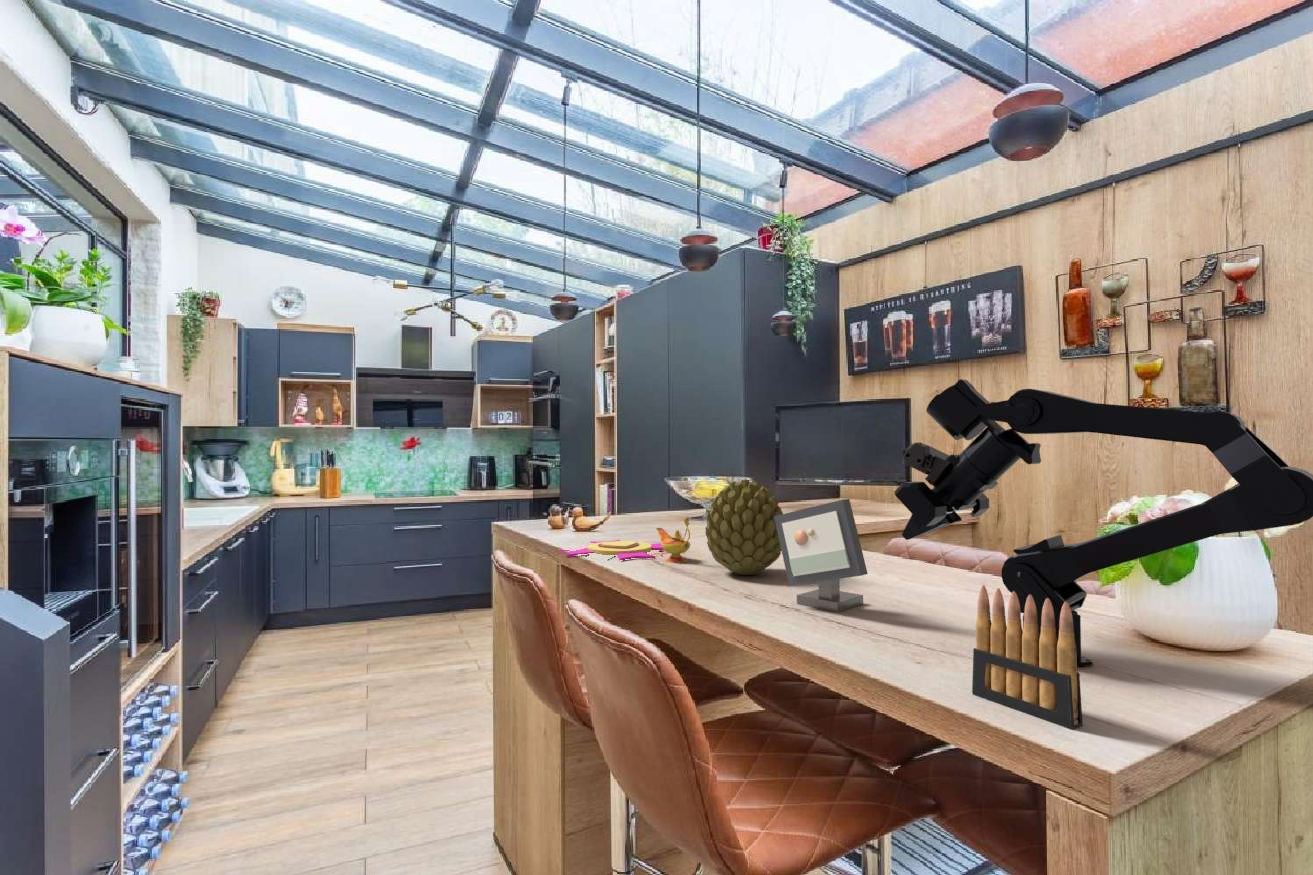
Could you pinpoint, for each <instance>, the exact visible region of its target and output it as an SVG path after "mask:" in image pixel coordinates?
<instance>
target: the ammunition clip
mask: <svg viewBox="0 0 1313 875" xmlns="http://www.w3.org/2000/svg"><path fill="white" fill-rule="evenodd" d="M977 598H978V599H977V615H976V623H975V648H973V649H972V650H973V651H972V653H973V654H972V655H973V658H972V663H973V664H972V680H971V681H972V682H971V683H972V684H971V685H972V688H971V689H972V690H971V693H972V695H973V696H976V697H978V698H980V699H983V700H987V701H989V702H993V703H996V704H999V705H1001V706H1003V707H1006V708H1009V709H1012V710H1015V711H1017V712H1021V713H1023V714H1025V715H1029V716H1032V717H1034V718H1037V719H1040V720H1043V721H1046V722H1048V723H1051V724H1054V725H1057V726H1059V727H1062V728H1066V729H1068V730H1075V729H1077V728H1080V727H1082V726H1084V725H1083V711H1082V710H1083V709H1082V707H1083V706H1082V695H1081V680H1080V679H1081V678H1080V677H1081V676H1080V675H1081V674H1080V672H1078V670H1077V669H1078V666H1077V654H1076V644H1075V640H1074V629H1073V618H1072V613H1071V609H1070V606H1069V604H1068V602H1064V604H1063V606H1062V609H1061V613H1060V622H1059V639H1058V642H1057V638H1056V630H1055V617H1054V611H1053V607H1052V604H1051V601H1050V599H1049V598H1046V600H1045V602H1044V605H1043V609H1042V617H1041V634H1040V637H1039V632H1038V623H1037V611H1036V606H1035V602H1034V599H1033V597H1032V595H1029V596H1028V598H1027V600H1026V604H1025V611H1024V613H1023V615H1024V629H1023V624H1022V618H1021V616H1022V613H1021V611H1020V604H1019V600H1018V597H1017V594H1016V592H1015V591H1013V592H1012V593H1011V595H1010V597H1009V601H1008V606H1007V607H1008V608H1007V620H1006V608H1005V607H1006V606H1005V601H1004V597H1003V593H1002V591H1001V589H1000V587H998V588H996V590H995V593H994V595H993V601H992V614H991V609H990V608H991V607H990V606H991V604H990V597H989V594H988V590H987V588H986V586H985V584H984V585H982V586H981V587H980V591H979V593H978V597H977ZM1006 621H1007V622H1006Z"/></svg>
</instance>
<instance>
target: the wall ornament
mask: <svg viewBox="0 0 1313 875" xmlns="http://www.w3.org/2000/svg"><path fill="white" fill-rule="evenodd" d="M589 542H591V543H594V544H591V545H590V544H588V545H587V546H588V548H584V549H581V550H576V551H570V550H563V549H564V548H560V549H558V550H559V551H558V552H559V553H561V554H563V553H562V551H570V552H569V553H568V554H566V558H575V557H574V556H575V555H578V554H588V553H596V554H602V555H617V556H618V558H619V559H620V560H625V559H631V558H655V559H656V556H653V555H662V556H663V555H664V554H663V553H666V554H669V553H668V552H666V551H664V552H661V553H654V554H651V555H650V554H647V552H650V551H651V550H664V549H663V548H662V546H661V542H659V543H647V542H641V541H632V540H623V541H622V540H621V539H614V540H608V541H599V540H598V541H597V540H596V541H592V540H591V541H588V543H589ZM618 558H617V559H618ZM619 559H618V560H619Z"/></svg>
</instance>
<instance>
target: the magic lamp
mask: <svg viewBox="0 0 1313 875" xmlns="http://www.w3.org/2000/svg"><path fill="white" fill-rule="evenodd" d="M689 521H690V518H689V516H687V517H685V518H684V519H683V522H684V525H685V527H686V528H685V533H684V536H683V535H682V533H681V531H679V529H676V530H675V532H674V534H673V535H672V536H671V535H669V533H668V532H667V531H666V530H665V529H664V528H662V527H656V528H655V530H656V531H657V533H658V537H659V540H660V543H661V546H662V548H663V549H664V550H665V551H666V552H668V553H667V554H670V557H668V558H666V559H665V562H666V563H671V562H680V563H685V562H687V559H685V558H683V557H682V555H681V554H686V552H687V551H688V550H689V549H690V547H691V543H690V542H689V540H690V539H691V532H690V529H689V525H690V522H689ZM687 533H688V537H687V539H686V535H687ZM682 536H683V538H682ZM685 539H686V540H685Z"/></svg>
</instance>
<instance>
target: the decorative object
mask: <svg viewBox="0 0 1313 875" xmlns="http://www.w3.org/2000/svg"><path fill="white" fill-rule="evenodd" d="M781 514H784V512H783V510H782V508H781V506H780V505H779V502H778V500H777V499H776V497H775V496H774V495H773V496H772V494H771V492H770V491H769V489H768V488H766V487H765V486H764V485H762V486H761V483H759V482H757V481H755V480H753V481H750V480H749V479H740V481H737V482H736V481H732V482H730V483H729V484H728V485H727V486H726V487H724V488H723V489H721V490H720V491H719V493H718V494H717V495H715V498H714V499H713V501H712V502H711V505H710V510H709V509H708V512H707V516H706V526H705V536H706V539H707V541H706V544H707V546H708V550H709V552H710V553H711V555H712V558H713V559H714V560H715V561H716V562H717V563H718V564H720V565H721V566H723V567H724V568H726V569H727V570H728V571H729V572H732V573H734V574H737V575H740V576H753V575H756V574H759V573H761V572H763V570H766V568H768V567H770V566H772V564H774V562H776V561H777V560H778V559H779V558H780V556H781V554H782V551H781V546H780V542H779V537H778V533H777V528H776V523H775V519H774V516H777V515H781Z"/></svg>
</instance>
